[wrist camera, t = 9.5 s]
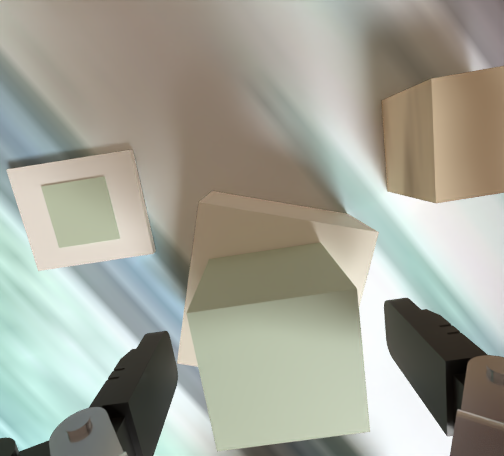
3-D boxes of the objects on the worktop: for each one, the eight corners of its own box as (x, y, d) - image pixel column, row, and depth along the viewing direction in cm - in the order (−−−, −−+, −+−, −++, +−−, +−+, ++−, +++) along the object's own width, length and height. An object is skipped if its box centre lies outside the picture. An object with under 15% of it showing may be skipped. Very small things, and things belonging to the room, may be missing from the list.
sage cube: (320, 242, 14) (357, 288, 9) (331, 342, 15) (370, 431, 10) (209, 259, 14) (186, 313, 9) (228, 357, 15) (217, 451, 10)
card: (133, 149, 18) (128, 149, 17) (155, 251, 19) (152, 254, 18) (13, 169, 18) (4, 169, 17) (43, 267, 19) (37, 271, 19)
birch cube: (473, 85, 17) (561, 56, 12) (474, 177, 18) (555, 184, 13) (380, 101, 17) (431, 78, 12) (387, 191, 18) (435, 203, 13)
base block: (346, 212, 19) (378, 232, 14) (317, 332, 20) (337, 387, 16) (212, 190, 19) (198, 202, 14) (195, 313, 20) (177, 363, 15)
